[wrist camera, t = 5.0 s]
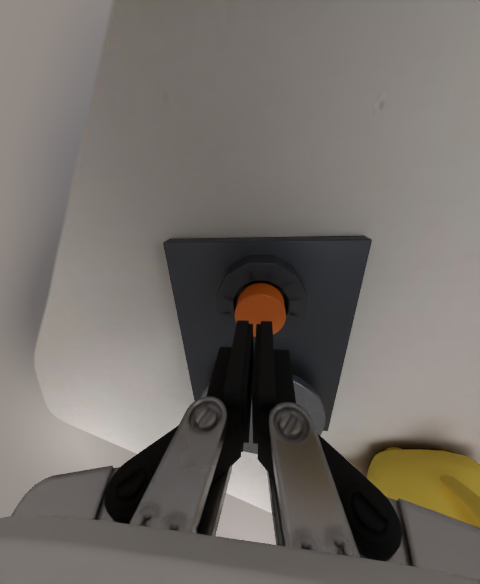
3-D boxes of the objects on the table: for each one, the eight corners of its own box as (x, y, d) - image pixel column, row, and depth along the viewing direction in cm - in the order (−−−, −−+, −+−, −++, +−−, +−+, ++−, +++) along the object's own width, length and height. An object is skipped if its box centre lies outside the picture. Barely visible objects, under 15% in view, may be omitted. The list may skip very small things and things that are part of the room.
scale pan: (207, 440, 23) (205, 448, 22) (193, 362, 18) (190, 369, 17) (315, 451, 21) (317, 460, 21) (332, 369, 17) (335, 378, 16)
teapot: (383, 502, 30) (434, 642, 21) (324, 459, 27) (352, 600, 18) (497, 473, 24) (634, 646, 15) (437, 415, 21) (563, 587, 12)
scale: (201, 409, 25) (193, 436, 23) (169, 238, 16) (150, 249, 14) (325, 420, 24) (332, 449, 21) (364, 235, 15) (385, 247, 12)
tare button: (238, 321, 16) (235, 336, 14) (236, 282, 15) (233, 293, 13) (283, 323, 16) (284, 338, 14) (285, 282, 14) (287, 294, 13)
